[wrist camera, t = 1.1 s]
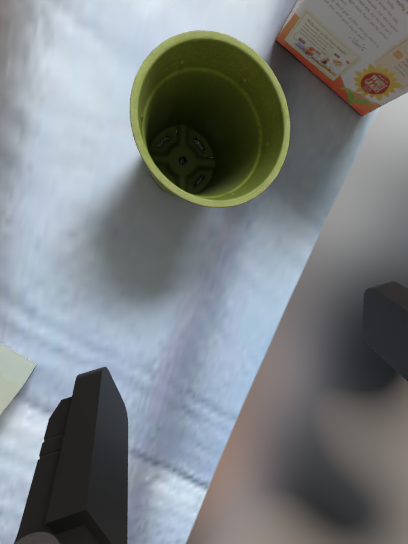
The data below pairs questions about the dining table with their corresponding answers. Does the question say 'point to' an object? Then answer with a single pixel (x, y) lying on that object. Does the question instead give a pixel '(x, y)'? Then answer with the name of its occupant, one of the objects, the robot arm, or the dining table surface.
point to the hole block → (12, 374)
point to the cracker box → (352, 47)
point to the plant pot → (210, 119)
